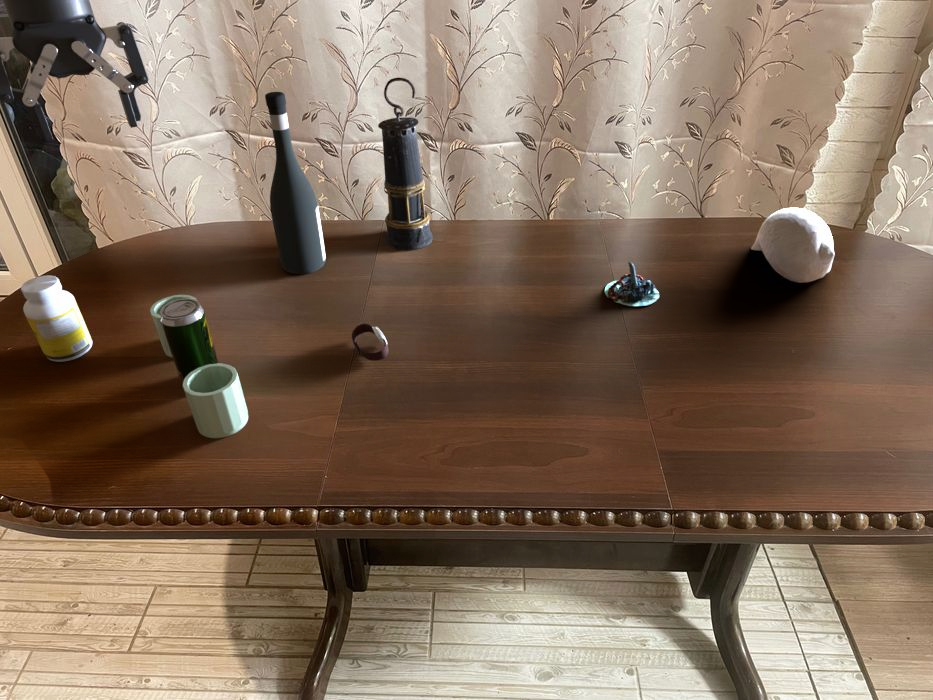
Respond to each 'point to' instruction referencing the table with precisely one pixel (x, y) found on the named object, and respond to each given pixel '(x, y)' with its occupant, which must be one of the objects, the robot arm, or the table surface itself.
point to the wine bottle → (293, 200)
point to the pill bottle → (55, 319)
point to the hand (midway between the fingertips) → (92, 132)
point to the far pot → (156, 317)
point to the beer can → (187, 335)
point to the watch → (379, 335)
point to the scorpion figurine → (632, 290)
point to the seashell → (796, 244)
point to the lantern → (404, 181)
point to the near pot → (216, 400)
